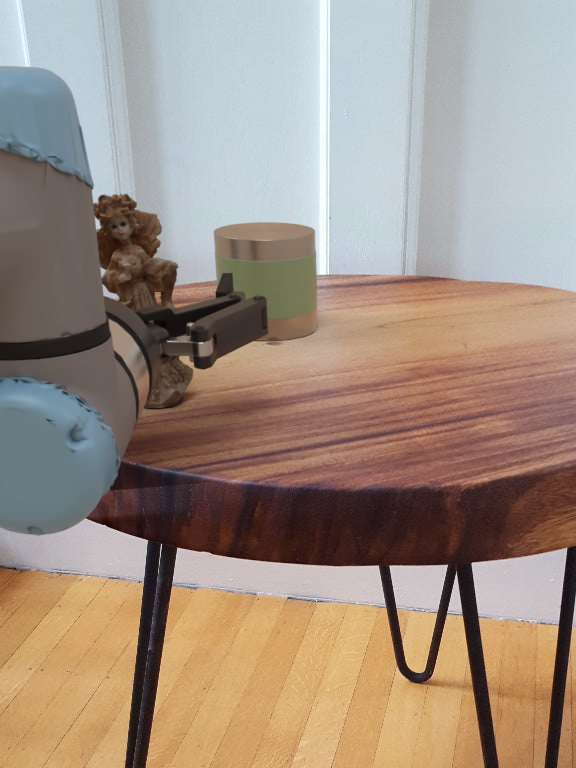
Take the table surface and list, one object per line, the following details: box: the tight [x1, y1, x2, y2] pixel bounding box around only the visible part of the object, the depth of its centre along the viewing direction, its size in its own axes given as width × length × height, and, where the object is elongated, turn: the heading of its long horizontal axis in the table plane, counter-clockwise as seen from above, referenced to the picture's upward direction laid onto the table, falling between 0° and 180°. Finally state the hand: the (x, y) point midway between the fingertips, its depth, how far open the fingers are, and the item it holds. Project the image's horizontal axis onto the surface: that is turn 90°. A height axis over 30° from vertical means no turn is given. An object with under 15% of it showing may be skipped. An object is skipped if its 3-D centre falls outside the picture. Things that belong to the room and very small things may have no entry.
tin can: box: [213, 221, 318, 342], centre depth 93 cm, size 10×10×9 cm
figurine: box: [93, 193, 194, 409], centre depth 73 cm, size 7×6×15 cm
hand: (140, 291), depth 74 cm, fingers open, 13 cm apart
